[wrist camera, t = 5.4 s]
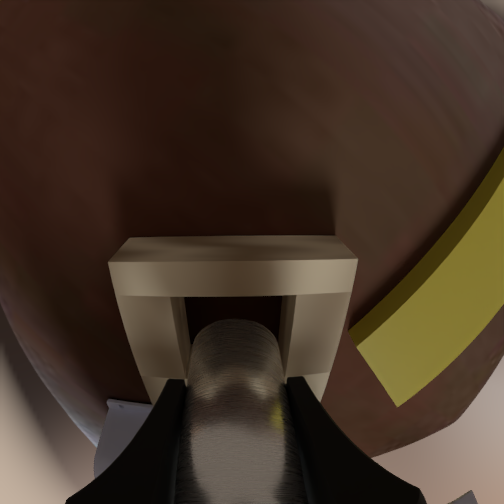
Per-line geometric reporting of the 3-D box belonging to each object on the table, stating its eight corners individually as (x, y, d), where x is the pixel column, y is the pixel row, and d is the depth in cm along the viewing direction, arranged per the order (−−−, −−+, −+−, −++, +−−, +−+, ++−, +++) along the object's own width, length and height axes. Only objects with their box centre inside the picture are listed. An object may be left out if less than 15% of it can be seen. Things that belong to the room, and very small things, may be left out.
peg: (197, 378, 13) (186, 544, 5) (187, 318, 11) (154, 535, 3) (275, 376, 13) (302, 541, 5) (280, 317, 11) (330, 532, 3)
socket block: (166, 393, 19) (161, 424, 16) (129, 237, 13) (107, 261, 11) (305, 391, 19) (313, 420, 17) (335, 235, 14) (358, 258, 11)
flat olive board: (508, 129, 12) (319, 347, 18) (527, 133, 10) (327, 369, 16) (533, 226, 16) (389, 391, 22) (547, 233, 14) (397, 407, 20)
